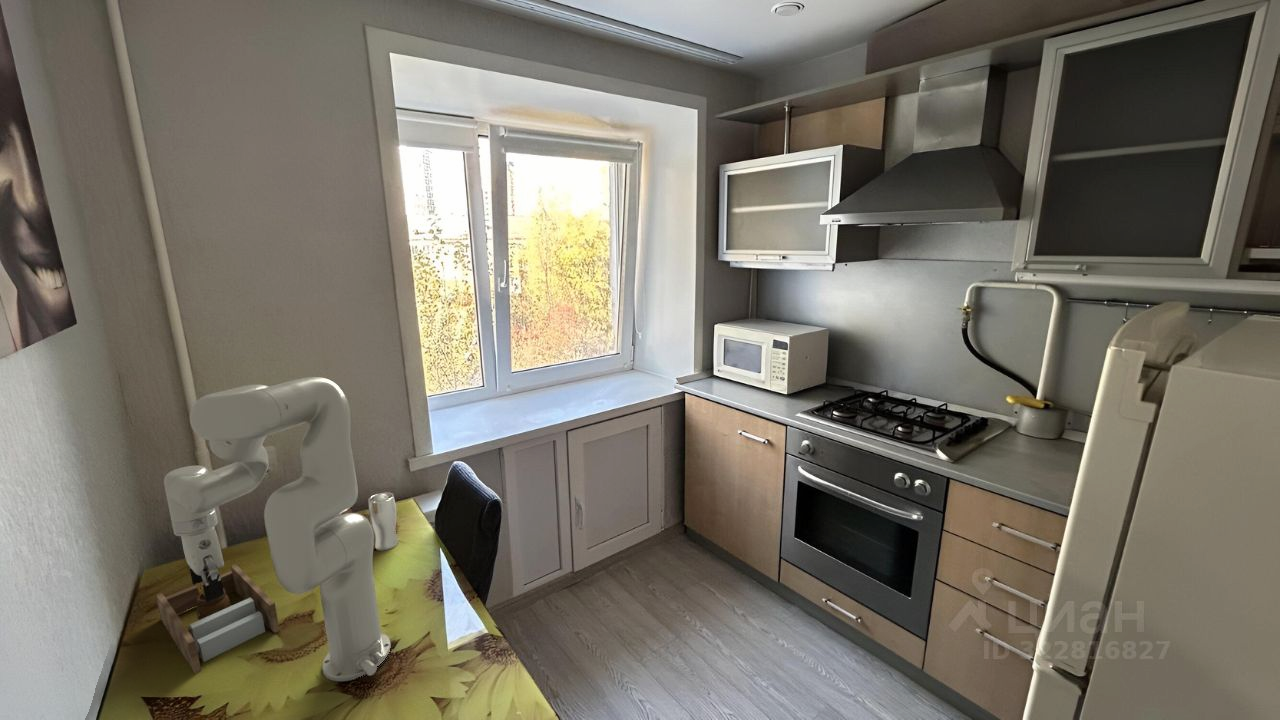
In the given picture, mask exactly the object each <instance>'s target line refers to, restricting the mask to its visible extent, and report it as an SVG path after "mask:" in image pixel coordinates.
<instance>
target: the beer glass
mask: <svg viewBox="0 0 1280 720" xmlns="http://www.w3.org/2000/svg"><path fill="white" fill-rule="evenodd" d="M367 502H368V514H369V521H370V524H371V526H372V528H373V532H374V537H375V542H374V547H375V549H376V550H378V551H381V552H382V551H388V550H390V549H393V548H395V547H396V546H398V544H399V539H398V536H397V532H396V526H397V525H396V523H397V506H396V500H395V496H394V493H392V492H389V491H387V492H379V493H375V494H374V495H372V496H370V497H369V498H368V501H367Z"/></svg>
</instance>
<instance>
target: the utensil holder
mask: <svg viewBox="0 0 1280 720" xmlns="http://www.w3.org/2000/svg"><path fill="white" fill-rule="evenodd" d="M208 576H209V575H208ZM201 583H202V582H201ZM201 583H196V585H197V588H198V591H199V593H200V595H199V596H198V597H197V604H198V605H197V608H195V609H196V615H197V621H199V620H201V619H203V618H205V617H208V616H210V615H212V614H214V613H217V612H219V611H221V610H223V609H226V608H228V607H230V606H231V601H230V597H229V596H228V594H227V595H226V591H225V589H224V588H223V591H224V594H223V595H222V596H220V597H217V598H215V599H213V600H210V601H206V600H205V595H204V590H203V586H202V584H201ZM198 584H200V587H201V589H202V590H200V587H199V585H198ZM203 585H204V582H203Z"/></svg>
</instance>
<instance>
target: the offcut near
mask: <svg viewBox="0 0 1280 720" xmlns="http://www.w3.org/2000/svg"><path fill="white" fill-rule="evenodd" d="M254 613H256V610H255V605H254V600H253V599H252V598H251V597H250V598H248V599H246V600H244V599H243V600H242V601H239V602H237V603H235V604H233V605H230V607H228V608H226V609H223V610H221V611H219V612H217V613H214V614H212V615H210V616H208V617H205V618H203V619H201V620H199V621H198V620H197V621H195V622H191V623H190V624H189V628H190V634H191V636H192V637H193V639H194V640H195V644H196V648H197V653H200V651H199V647H198V642H197V640H198V639H200V638H202V637H204V636H206V635H209V634H211V633H213V632H215V631H217V630H219V629H221V628H224V627H226V626H228V625H230V624H232V623H234V622H236V621H239V620H241V619H243V618H245V617H247V616H249V615H251V614H254Z"/></svg>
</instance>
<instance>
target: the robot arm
mask: <svg viewBox="0 0 1280 720" xmlns="http://www.w3.org/2000/svg"><path fill="white" fill-rule="evenodd" d="M189 421H190V422H189V423H190V426H191V429H192V430H193V431H194V433H195V434H196V435H197V436H198V437H199V438H202V439H203V440H206V441H209V449H210V450H211V452H212V453H213V454H214V455H215V456H217V458H220V459H222V460H224V461H228V462H233V463H231V464H228V465H225V466H222V467H220V468H216V469H215V470H211V471H209V469H208V468H207V467H205V466H203V465H188V466H184V467H183V466H182V467H180V468H179V467H178V468H175V469H173V470H170V471H169V472H168V473H166V475H165V476H164V478H163V485H164V489H165V491H164V492H165V496H166V500H167V505H168V511H169V516H170V520H171V521H170V522H171V526H172V531H173V534H174V536H176V537H180V538H181V544H182V548H183V553H184V556H185V560H186V563H187V564H188V566H189V572H190V573H189V574H190V578H191V583H192V584H193V586H194V585H196V583H198V584H199V583H202V582H204V585H203V590H204V595H205V600H206V601H210V600H213V599H215V598H217V597H220V596H222V595H223V594H224V591H223V586H222V580H221V577H220V575H221V574H220V572H219V569H222V568H223V567H224V566H225V562H224V558H223V553H222V549H221V545H220V541H219V537H218V534H217V532H216V529H215V527H216V526H217V524H218V523H219V522H218V521H219V520H218V516H217V514H218V513H217V510H216V509H217V508H218V507H221V506H223V505H224V504H226V503H229V502H231V501H234V500H235V499H238V498H240V497H243V496H245V495H247V494H249V493H251V492H252V491H254V490H255V489H256V488H257V487H258V486H259V485H261V482H262V481H263V479H264V477H265V476H266V473H267V472H268V470H269V466H270V463H269V462H270V460H269V459H270V458H269V456H268V452H267V450H266V447H265V446H264V445H263V444H264V442H265V440H266V438H267V437H268V436H271V435H272V436H273V435H274V434H278V433H280V432H283V431H286V430H289V429H291V428H295V427H297V426H301V425H303V424H308V427H307V429H306V431H305V432H304V435H303V438H302V441H301V444H300V446H299V447H300V449H299V459H300V461H301V476H300V477H299V478H298V479H296V480H294V481H292V482H289V483H287V484H285V485H283V486H282V487H280V488H278V489H277V490H275V491H274V492H272V493H271V495H270V496H269V497H268V498H267V501H266V502H265V506H264V512H263V517H264V519H263V520H264V524H265V525H264V526H265V531H266V536H267V541H268V546H269V550H270V557H271V561H272V566H273V570H274V573H275V575H276V578H277V580H278V582H279V584H280V585H281V586H282V587H283V589H284V590H286V591H287V592H288V593H291V594H294V595H295V594H296V595H301V594H306V593H308V592H311V591H312V590H314V589H316V588H318V587H319V586H320V587H319V589H320V591H319V593H320V600H321V608H322V614H323V621H324V627H325V633H326V640H327V644H328V653H327V654H326V655H325V657H324V659H323V661H322V664H321V667H322V672H323V675H324V677H325V678H326V679H328V680H329V681H330V680H331V681H335V682H347V681H353V680H356V678H357V679H359V678H358V677H360V678H362V677H364V676H366V675H367V676H373V675H374V674H375V673H376V671H377V669H378V667H377V666H379V665H380V664H381V663H382V662H383V661H384V660H385V658H386V657H387V655H388V654H389V655H390V653H391V651H390V648H391V649H392V645H391V643H392V642H391V640H390V638H389V636H388V635H386V634H385V633H382V632H381V624H380V616H379V609H378V602H377V601H378V600H377V593H376V587H375V586H376V585H375V584H376V583H375V576H374V567H373V558H374V557H373V554H374V547H375V532H374V529H373V526H372V523H371V521H370V520H369V519H368V518H366V516H364V515H362V514H360V513H356V512H355V513H354V512H353V513H347V514H343V515H340V516H338V515H339V514H341V513H343V512H344V511H346V510H348V509H350V508H351V507H353V506H355V504H356V503H357V501H358V496H359V490H358V489H359V488H358V482H357V475H356V474H357V473H356V469H355V468H356V467H355V461H354V455H353V449H352V444H351V408H350V404H349V401H348V399H347V396H346V394H345V393H344V391H343V390H342V388H340V386H339V385H338V384H337V383H336V382H334V381H332V380H330V379H328V378H325V377H320V376H319V377H317V376H312V377H302V378H298V379H292V380H290V381H284V382H281V383H278V384H275V385H271V386H268V385H265V384H257V383H256V384H247V385H243V386H238V387H235V388H231V389H226V390H221V391H217V392H213V393H210V394H206V395H203V396H201V397H200V398H199V399H197V400H196V402H195V403H194V404H193V405H192V407H191V410H190V413H189ZM336 516H337V517H336ZM334 517H335V518H334ZM208 575H209V576H208ZM389 652H390V653H389ZM389 655H388V656H389ZM387 658H388V657H387ZM387 658H386V659H387ZM385 661H386V660H385ZM385 661H384V662H385ZM384 662H383V663H384ZM383 663H382V664H383ZM382 664H381V665H382ZM381 665H380V666H381ZM380 666H379V667H380ZM365 674H366V675H365ZM363 675H364V676H363ZM361 676H362V677H361Z"/></svg>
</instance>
